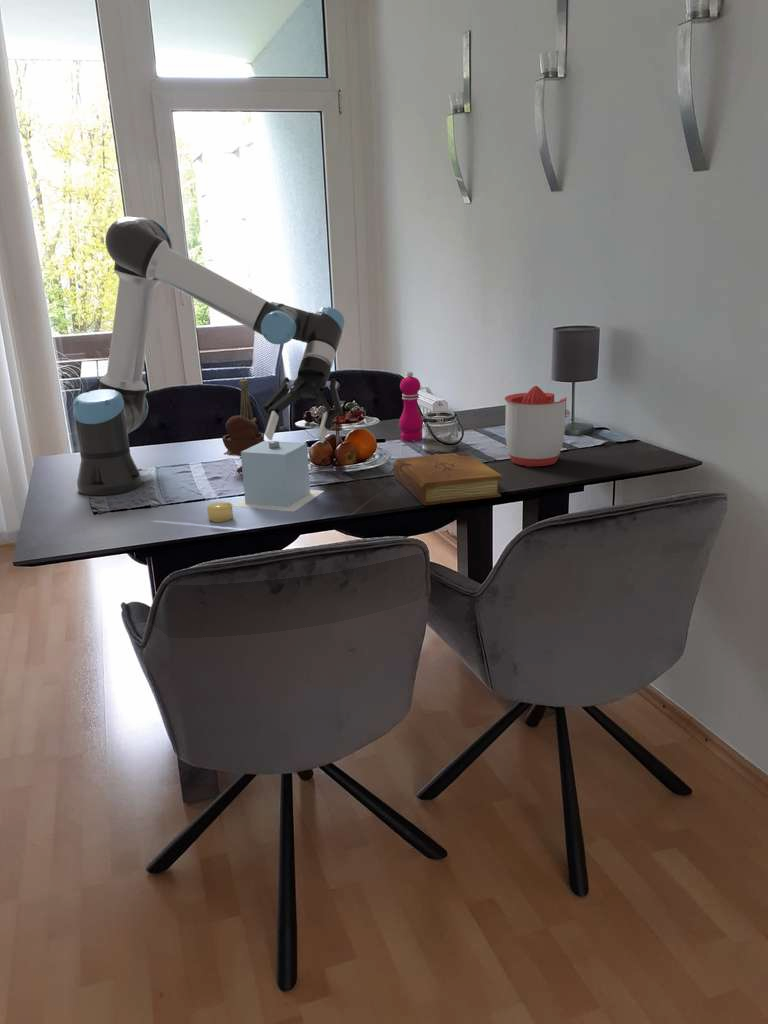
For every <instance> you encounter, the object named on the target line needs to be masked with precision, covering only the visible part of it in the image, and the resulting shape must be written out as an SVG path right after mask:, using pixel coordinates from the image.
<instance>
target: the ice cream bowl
mask: <svg viewBox="0 0 768 1024" xmlns="http://www.w3.org/2000/svg"><path fill="white" fill-rule="evenodd" d="M255 423H256V422H255ZM255 423H253V422H252V421H250V420H247V419H246V418H245V417H244V416H240V415H233V416H231V417H230V418H228V420H227V421H226V423H225V429H226V432H227V434H225V435H223V436H222V442H223V446H224V447H225V449H227V450H229V451H230V452H231V453H233V455H235V456H239V457H241V452H242V451H244V450H246V449H248V448H250V447H252V446H254V445H256V444H259V443H261V442H263V441H264V440H265V432H260V431H259V426H258V424H257V423H256V424H255ZM258 431H259V432H258ZM236 472H238V473H237V474H240V473H243V472H242V465H240V467H238V468H236Z"/></svg>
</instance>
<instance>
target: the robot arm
mask: <svg viewBox="0 0 768 1024" xmlns="http://www.w3.org/2000/svg"><path fill="white" fill-rule="evenodd" d="M105 247H106V251H107V253H108V255H109V256H110V258H111V259H112V260H113V262H114V267H113V271H114V273H115V274H116V275H117V277H118V278H119V280H118V281H119V282H118V287H117V295H116V302H115V309H114V318H113V325H112V326H113V327H112V333H111V339H110V348H109V355H108V356H109V357H108V363H107V372H106V373H105V374H104V375H103V376H101V377H100V378H99V384H98V389H94V390H90V391H88V392H87V391H86V392H83V393H80V394H79V395H76V397H75V398H74V399H73V402H72V408H73V409H72V410H73V411H72V416H73V418H74V424H75V431H76V437H77V442H78V447H79V448H78V449H79V453H80V464H79V469H78V473H77V475H78V476H77V481H76V485H77V491H78V492H79V493H80V494H82V495H87V496H109V495H110V496H111V495H115V494H116V495H117V494H122V493H127V492H130V491H132V490H135V489H137V488H139V487H141V486H142V484H143V483H142V475H141V472H140V471H139V469H138V467H137V465H136V463H135V461H134V459H133V457H132V454H131V448H130V442H129V441H130V440H129V434H130V433H131V432H133V431H135V430H137V429H138V428H140V427H141V425H142V424H143V423H144V421H145V420H146V418H147V416H148V411H149V404H148V399H147V397H146V395H147V394H146V393H147V390H148V388H147V384H145V382H144V381H143V373H144V366H145V359H146V354H147V347H148V339H149V334H150V332H149V331H150V326H151V319H152V312H153V304H154V298H155V291H156V287H157V285H159V284H160V283H164V284H166V285H167V286H169V287H171V288H173V289H175V290H177V291H179V292H181V293H183V294H184V295H186V296H188V297H190V298H192V299H194V300H196V301H198V302H200V303H201V304H203V305H205V306H207V307H209V308H211V309H212V310H215V311H217V312H218V313H220V314H223V315H224V316H227V317H228V318H230V319H231V320H233V321H235V322H238V323H239V324H241V325H243V326H245V327H247V328H249V329H251V330H252V331H255V332H256V333H257V334H259V335H261V336H263V337H264V339H265V340H266V341H267V342H269V343H270V344H273V345H283V344H287V343H289V342H290V341H291V340H295V341H298V342H302V343H306V346H305V348H304V352H303V354H302V360H300V361H301V362H300V364H299V367H298V371H297V377H296V378H295V379H289V377H288V376H286V377H284V378H283V380H282V383H281V385H279V387H278V388H277V389H276V390H275V391H274V392H273V394H272V395H271V396H270V397H269V398H268V399H267V401H266V402H265V403H264V404H263V405H262V409H263V410H264V411H265V413H266V414H267V416H266V419H265V424H266V425H267V426H266V428H265V431H264V436H265V437H266V438H267V440H268V441H273V437H274V435H275V431H276V429H277V424H278V423H279V422H278V421H279V417H280V416H279V414H280V413H282V412H283V411H284V410H285V409H286V408H288V407H289V406H290V405H292V404H293V403H294V402H295V401H299V400H300V399H301V398H302V399H315V398H316V397H317V398H318V399H319V400H320V402H321V403H322V405H323V408H324V409H325V411H326V412H323V415H322V418H321V422H320V426H319V429H318V433H317V435H316V438H317V439H318V441H319V442H320V443H321V444H323V443H325V439H326V436H327V434H328V430H331V429H332V427H333V424H334V421H335V420H334V419H335V418H336V417H344V411H343V407H342V403H341V399H340V397H339V395H340V394H339V383H338V382H337V380H336V379H335V378H331V379H330V380H329V378H330V375H331V372H332V371H331V370H332V367H333V364H334V361H335V359H336V354H337V351H338V347H339V344H340V341H341V338H342V334H343V331H344V326H345V317H344V316H343V314H342V312H340V310H338V309H336V308H334V307H331V306H327V307H324V306H322V307H320V308H318V309H317V311H316V313H314V312H310V311H307V310H306V311H305V310H303V309H300V308H296V307H294V306H293V307H292V306H290V305H286V304H285V303H280V302H279V303H278V302H274V301H270V302H269V301H267V300H266V299H264V298H262V297H261V296H259V295H257V294H255V293H253V292H251V291H249V290H248V289H246V288H244V287H243V286H240V285H238V284H237V283H235V282H233V281H231V280H230V279H227V278H225V277H223V276H222V275H220V274H218V273H216V272H215V271H213V270H210V269H209V268H206V267H205V266H203V265H202V264H200V263H198V262H196V261H194V260H192V259H191V258H189V257H187V256H185V255H183V254H181V253H179V252H177V251H176V250H174V249H173V241H172V239H171V236H170V233H169V231H168V230H167V229H166V228H165V227H164V226H163V225H161V224H160V223H159V222H157V221H156V220H153V219H150V218H147V217H136V216H135V217H133V216H123V217H120V218H118V219H116V220H115V221H113V223H112V224H110V226H109V227H108V229H107V231H106V235H105ZM327 388H328V389H329V391H330V395H331V397H332V398H331V399H332V402H333V403H332V404H333V406H334V409H333V408H332V407H331V406H330V404H329V402H328V401H327V399H326V397H325V396H324V394H323V392H324V391H325V390H326V389H327Z"/></svg>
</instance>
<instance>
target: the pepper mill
mask: <svg viewBox="0 0 768 1024" xmlns="http://www.w3.org/2000/svg"><path fill="white" fill-rule="evenodd" d="M406 376H407V377H403V379H402V380H401V381H400V384H399V389H400V391H401V392H402V394H401V395H402V397H401V399H402V400H403V410H402V413H401V416H400V418H399V423H398V428H399V429H400V430H401V431H402V432H401V433H400V440H402V441H404V442H405V441H406V442H414V441H413V440H418V441H421V440H422V439H423V433H422V432H421V430H422V429H423V427H422V424H423V425H424V420H423V417H422V415H421V413H420V411H419V407H418V400H419V398H420V394H419V393H418V392H420V390H421V382H420V380H419V379H418V378H417V377H414V373H413V372H412V371H408V372H407V374H406ZM421 438H422V439H421ZM420 439H421V440H420Z"/></svg>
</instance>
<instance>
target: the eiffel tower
mask: <svg viewBox="0 0 768 1024" xmlns="http://www.w3.org/2000/svg"><path fill="white" fill-rule="evenodd" d="M241 366H242V371H241V372H242V379H240V380H239V382H238V385H240V386H241V387H240V413H239V414H240V416H244V417H245V418H246V419H247V420H250V421H252V422H253V423H255V424H256V425H257V423H256V422H257V421H258V420H257V417H254V413H253V409H252V405H251V404H252V403H251V399H250V395H249V389H248V385H249V384H250V382H249V380H247V379H245V375H244V366H243V365H241ZM258 432H260V431H258ZM264 441H266V440H265V439H264ZM226 454H227V456H232V454H233V453H231V452H230V451H229V450H228V449H227V450H226V451H225V452H223V455H226ZM233 455H234V454H233ZM239 459H241V456H239Z"/></svg>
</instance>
